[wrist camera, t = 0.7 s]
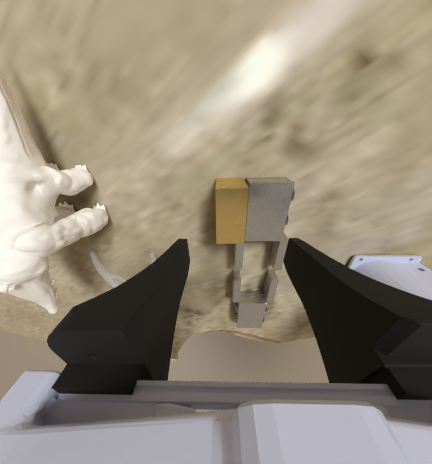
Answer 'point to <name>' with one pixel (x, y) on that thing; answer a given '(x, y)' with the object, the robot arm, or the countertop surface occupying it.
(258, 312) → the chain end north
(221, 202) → the brushed brass bar
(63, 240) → the dinosaur statue
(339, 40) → the countertop surface
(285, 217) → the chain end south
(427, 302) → the robot arm
